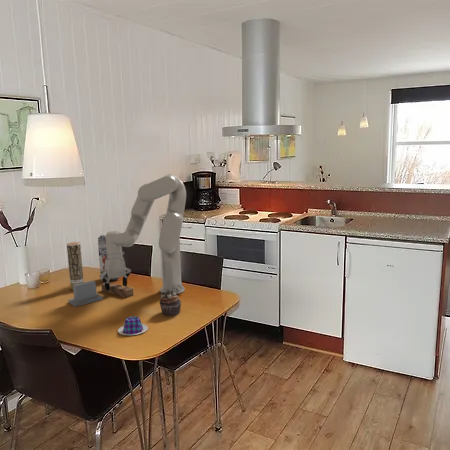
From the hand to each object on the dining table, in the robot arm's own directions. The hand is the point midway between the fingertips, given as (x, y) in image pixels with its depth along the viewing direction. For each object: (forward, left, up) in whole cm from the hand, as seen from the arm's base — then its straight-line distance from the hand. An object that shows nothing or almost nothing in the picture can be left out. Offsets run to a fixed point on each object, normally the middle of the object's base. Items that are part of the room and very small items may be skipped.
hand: (116, 287), depth 223 cm
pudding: (-48, +18, -3) cm, 52 cm away
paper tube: (+22, +12, -3) cm, 25 cm away
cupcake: (-43, -4, -3) cm, 43 cm away
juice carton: (+25, -9, -3) cm, 27 cm away
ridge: (0, +17, -3) cm, 17 cm away
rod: (0, 0, -3) cm, 3 cm away
